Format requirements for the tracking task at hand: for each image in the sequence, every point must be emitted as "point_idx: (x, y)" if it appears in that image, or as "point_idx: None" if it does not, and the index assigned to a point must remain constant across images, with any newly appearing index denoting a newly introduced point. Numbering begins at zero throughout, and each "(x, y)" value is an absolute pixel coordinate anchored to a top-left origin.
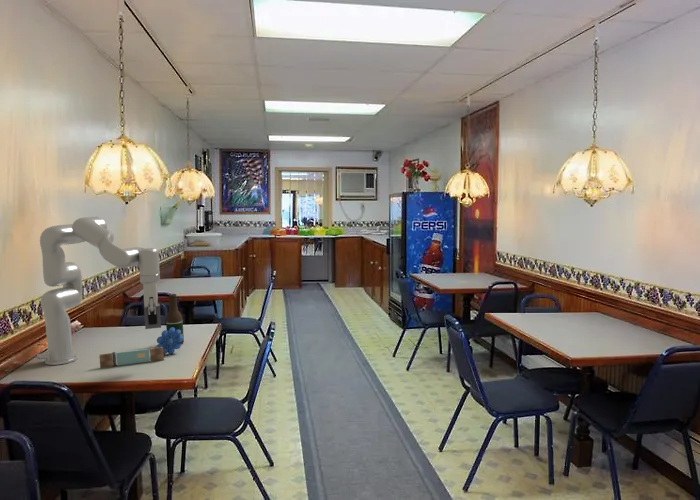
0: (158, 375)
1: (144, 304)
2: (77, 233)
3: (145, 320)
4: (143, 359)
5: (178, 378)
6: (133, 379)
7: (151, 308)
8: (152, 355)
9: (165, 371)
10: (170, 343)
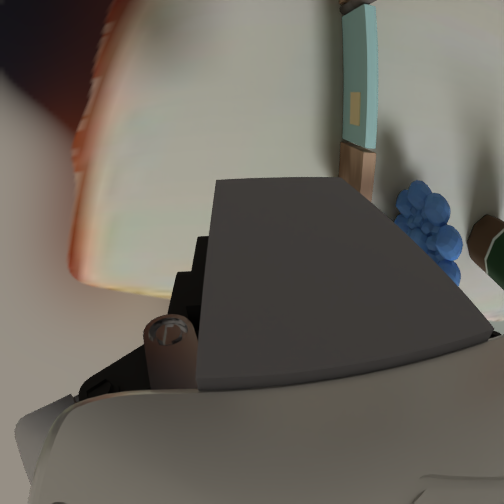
0: (133, 179)
1: (61, 466)
2: None
3: (213, 221)
4: (347, 115)
5: (86, 248)
6: (117, 90)
7: (24, 434)
8: (349, 156)
9: (175, 201)
10: None
